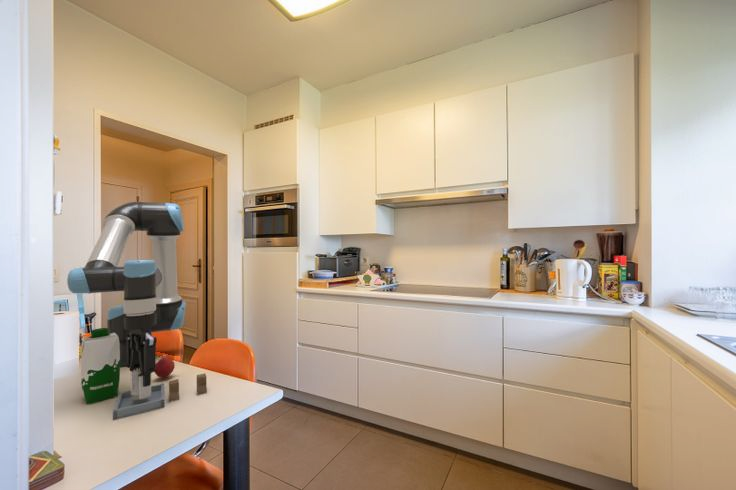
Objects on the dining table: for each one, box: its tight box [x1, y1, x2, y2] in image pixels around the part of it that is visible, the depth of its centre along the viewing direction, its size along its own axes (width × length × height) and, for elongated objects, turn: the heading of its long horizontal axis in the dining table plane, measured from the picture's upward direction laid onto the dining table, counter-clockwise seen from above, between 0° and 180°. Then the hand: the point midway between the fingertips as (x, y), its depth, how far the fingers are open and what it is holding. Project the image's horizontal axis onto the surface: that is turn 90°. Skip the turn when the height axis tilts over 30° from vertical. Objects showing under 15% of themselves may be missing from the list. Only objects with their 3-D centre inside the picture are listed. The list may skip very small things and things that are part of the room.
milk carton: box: [80, 327, 121, 405], centre depth 93 cm, size 9×9×20 cm
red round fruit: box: [154, 354, 176, 379], centre depth 106 cm, size 6×6×8 cm
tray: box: [112, 383, 165, 421], centre depth 88 cm, size 13×11×2 cm
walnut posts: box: [168, 373, 208, 403], centre depth 92 cm, size 3×10×5 cm, turn 123°
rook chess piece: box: [131, 368, 141, 400], centre depth 88 cm, size 4×4×8 cm
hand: (141, 395), depth 88 cm, fingers closed on rook chess piece, 4 cm apart
